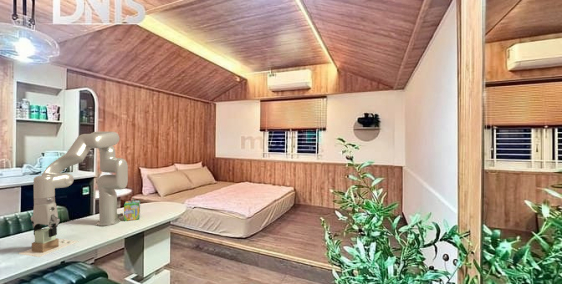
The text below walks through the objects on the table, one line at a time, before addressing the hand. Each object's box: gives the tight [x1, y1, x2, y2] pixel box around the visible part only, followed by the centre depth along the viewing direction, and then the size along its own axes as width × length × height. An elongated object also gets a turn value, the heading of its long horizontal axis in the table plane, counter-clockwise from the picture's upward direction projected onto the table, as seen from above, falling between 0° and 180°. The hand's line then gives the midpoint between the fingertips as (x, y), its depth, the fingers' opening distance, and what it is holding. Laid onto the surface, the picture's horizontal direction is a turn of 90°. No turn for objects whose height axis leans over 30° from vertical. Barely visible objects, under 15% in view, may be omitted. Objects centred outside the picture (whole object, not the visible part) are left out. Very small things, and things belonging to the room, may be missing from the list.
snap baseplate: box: [17, 238, 80, 258], centre depth 126 cm, size 18×14×2 cm
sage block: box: [34, 226, 57, 244], centre depth 124 cm, size 6×6×6 cm
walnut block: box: [31, 237, 60, 253], centre depth 124 cm, size 7×7×4 cm
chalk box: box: [123, 196, 141, 222], centre depth 173 cm, size 9×9×15 cm
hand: (45, 235), depth 124 cm, fingers open, 9 cm apart
